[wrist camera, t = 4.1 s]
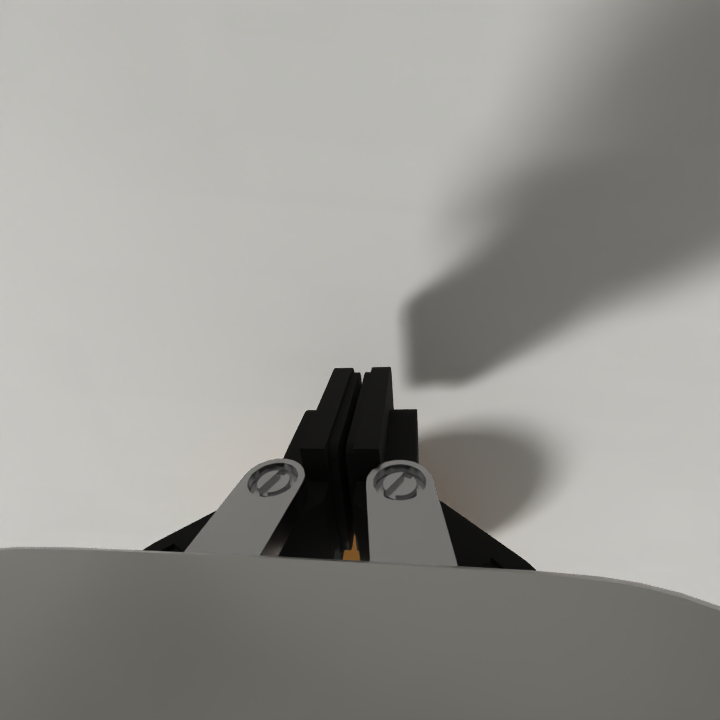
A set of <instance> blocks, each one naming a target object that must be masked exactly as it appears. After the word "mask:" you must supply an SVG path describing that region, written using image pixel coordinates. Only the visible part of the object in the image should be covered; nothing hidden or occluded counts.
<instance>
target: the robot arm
mask: <svg viewBox="0 0 720 720" xmlns="http://www.w3.org/2000/svg"><path fill="white" fill-rule="evenodd" d="M354 534H355V538H356V546H357V550H358V551H359V555H360V561H356V560H343V555H344V550H351V549H352V546H353V540H354ZM0 720H720V606H717V605H714V604H711V603H709V602H706V601H703V600H700V599H697V598H694V597H691V596H688V595H685V594H682V593H679V592H675V591H671V590H667V589H663V588H659V587H654V586H650V585H646V584H642V583H638V582H631V581H625V580H619V579H612V578H606V577H600V576H588V575H577V574H566V573H555V572H544V571H536V569H534V568H533V567H532V566H531V565H530V564H529V563H528V562H527V561H525V560H524V559H523V558H521V557H520V556H518V555H517V554H515V553H514V552H513V551H511V550H510V549H508V548H507V547H506V546H504V545H503V544H501V543H500V542H498V541H497V540H496V539H494V538H493V537H491V536H490V535H488V534H487V533H486V532H484V531H483V530H481V529H480V528H478V527H477V526H476V525H474V524H473V523H471V522H470V521H468V520H467V519H466V518H464V517H463V516H461V515H460V514H459V513H457V512H456V511H454V510H453V509H451V508H450V507H449V506H447V505H446V504H444V503H443V502H441V501H440V500H439V497H438V494H437V490H436V487H435V483H434V480H433V477H432V475H431V473H430V472H429V471H428V470H427V469H426V468H425V467H424V466H422V465H420V464H419V460H418V422H417V409H403V410H394V407H393V390H392V374H391V367H372V370H371V372H365V375H364V378H363V382H362V381H361V374H360V372H359V373H354V369H353V368H335V369H334V370H333V373H332V375H331V377H330V380H329V382H328V384H327V387H326V389H325V391H324V394H323V396H322V398H321V401H320V403H319V405H318V408H317V410H307V411H306V412H305V413H304V416H303V418H302V420H301V422H300V424H299V426H298V428H297V430H296V432H295V435H294V437H293V439H292V441H291V443H290V445H289V447H288V449H287V451H286V454H285V456H284V458H283V459H274V460H269V461H266V462H263V463H261V464H258V465H257V466H255V467H254V468H252V469H251V470H250V471H248V472H247V473H246V474H245V475H244V477H243V478H242V479H241V480H240V482H239V483H238V484H237V486H236V487H235V488H234V489H233V491H232V492H231V493H230V494H229V496H228V497H227V498H226V499H225V501H224V502H223V503H222V504H221V506H220V507H219V508H218V509H217V511H215V512H213V513H211V514H209V515H207V516H205V517H203V518H201V519H199V520H197V521H196V522H194V523H192V524H190V525H188V526H186V527H184V528H182V529H180V530H178V531H176V532H174V533H172V534H171V535H169V536H167V537H165V538H163V539H161V540H159V541H157V542H155V543H153V544H152V545H150V546H149V547H147V548H145V549H144V550H121V549H97V548H74V547H11V548H0Z"/></svg>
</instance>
